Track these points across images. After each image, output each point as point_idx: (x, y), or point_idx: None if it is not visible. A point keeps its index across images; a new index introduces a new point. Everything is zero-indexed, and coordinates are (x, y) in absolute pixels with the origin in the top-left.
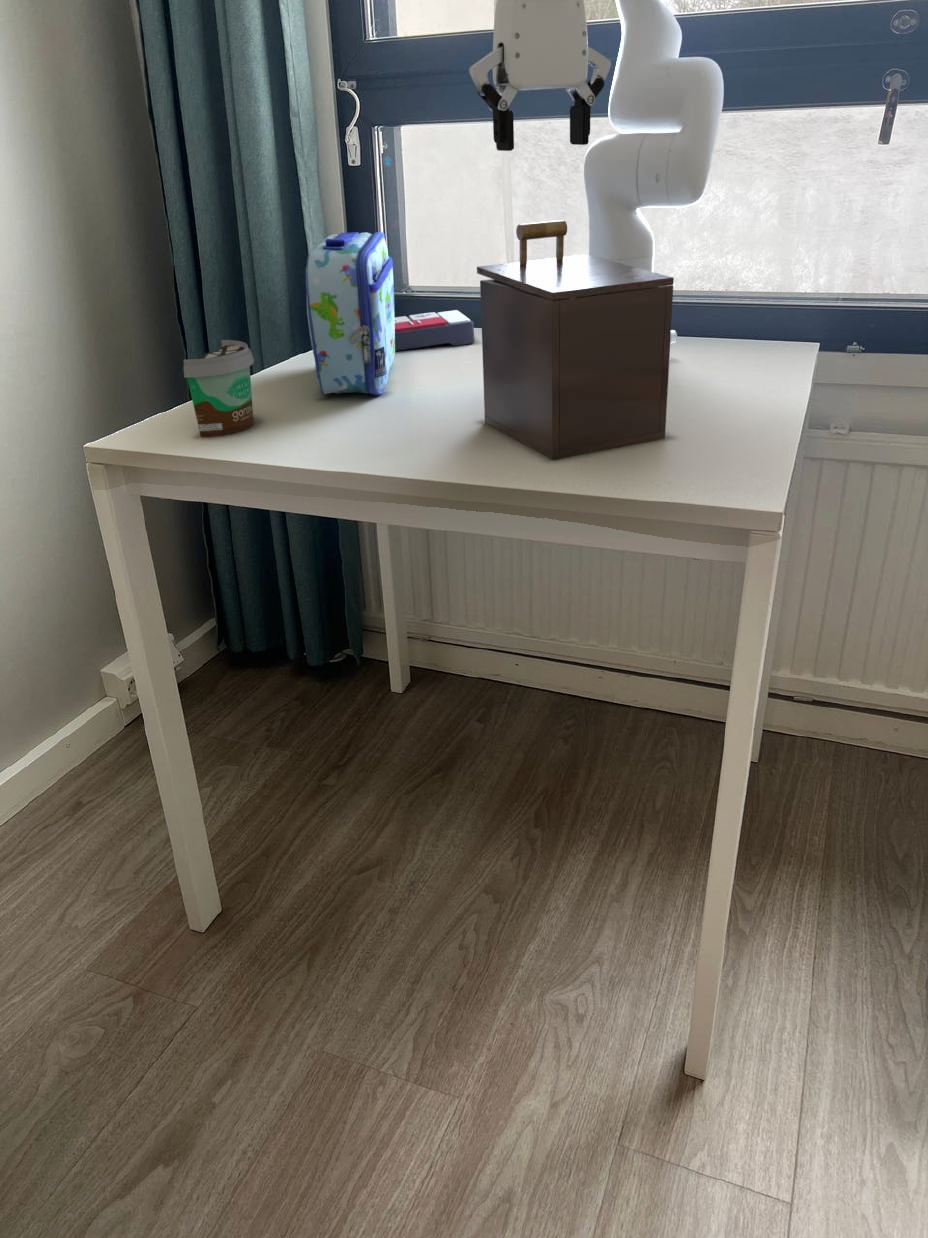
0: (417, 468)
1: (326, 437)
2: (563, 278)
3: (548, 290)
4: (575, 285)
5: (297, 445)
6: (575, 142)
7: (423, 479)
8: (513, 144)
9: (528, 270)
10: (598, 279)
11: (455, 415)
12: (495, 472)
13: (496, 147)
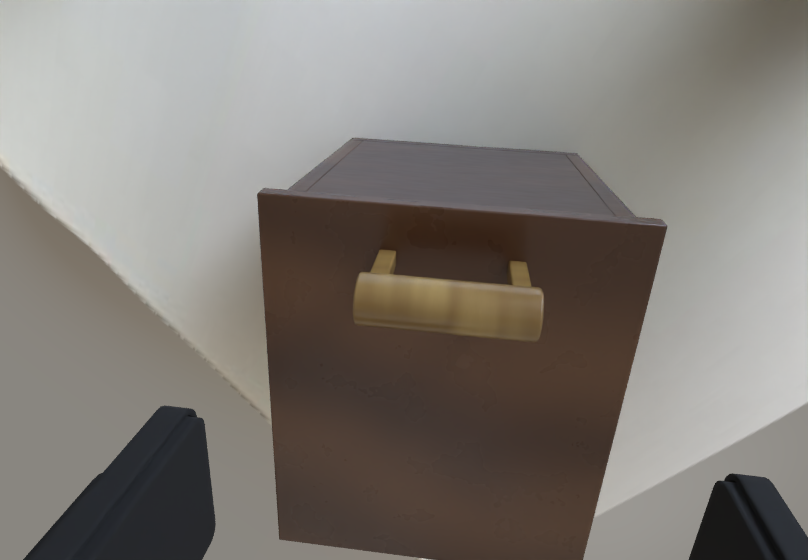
0: (173, 280)
1: (71, 43)
2: (375, 457)
3: (282, 522)
4: (354, 520)
5: (19, 59)
6: (697, 537)
7: (168, 322)
8: (203, 549)
9: (356, 333)
10: (433, 506)
11: (325, 57)
12: (261, 353)
13: (160, 409)
